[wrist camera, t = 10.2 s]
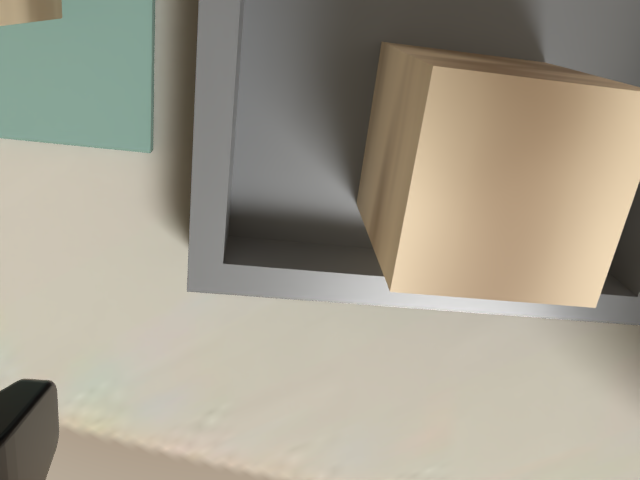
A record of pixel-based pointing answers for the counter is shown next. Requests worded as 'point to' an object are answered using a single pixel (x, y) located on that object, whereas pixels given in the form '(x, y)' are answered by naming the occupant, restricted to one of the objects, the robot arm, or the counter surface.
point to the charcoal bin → (357, 137)
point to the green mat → (81, 76)
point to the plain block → (497, 176)
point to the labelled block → (29, 11)
